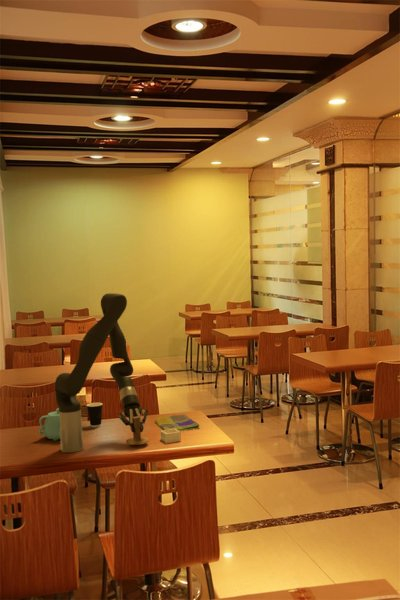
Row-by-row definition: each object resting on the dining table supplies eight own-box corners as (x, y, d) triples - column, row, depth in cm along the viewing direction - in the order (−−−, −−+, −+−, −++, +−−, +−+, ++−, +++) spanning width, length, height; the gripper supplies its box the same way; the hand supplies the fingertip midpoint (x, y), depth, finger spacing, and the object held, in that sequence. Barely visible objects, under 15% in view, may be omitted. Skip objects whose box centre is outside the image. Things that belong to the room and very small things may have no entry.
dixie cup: (88, 424, 315) (87, 403, 314) (104, 423, 316) (103, 401, 315) (87, 428, 307) (85, 406, 307) (103, 427, 308) (101, 405, 307)
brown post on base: (129, 445, 266) (128, 420, 266) (123, 440, 275) (122, 416, 275) (151, 442, 270) (150, 418, 269) (144, 437, 279) (143, 413, 278)
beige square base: (165, 443, 274) (165, 434, 273) (161, 439, 280) (160, 430, 280) (180, 440, 276) (180, 431, 276) (175, 437, 283) (175, 428, 283)
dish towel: (164, 434, 291) (164, 428, 291) (154, 422, 314) (153, 417, 314) (200, 429, 295) (200, 424, 295) (188, 418, 319) (187, 413, 319)
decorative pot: (62, 443, 282) (60, 414, 281) (35, 440, 290) (34, 411, 289) (85, 434, 296) (84, 406, 295) (60, 431, 304) (58, 403, 304)
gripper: (115, 395, 276) (123, 429, 265) (145, 392, 281) (155, 424, 270) (113, 405, 281) (121, 438, 270) (142, 401, 286) (152, 434, 276)
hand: (138, 431), depth 270 cm, fingers closed on brown post on base, 2 cm apart
